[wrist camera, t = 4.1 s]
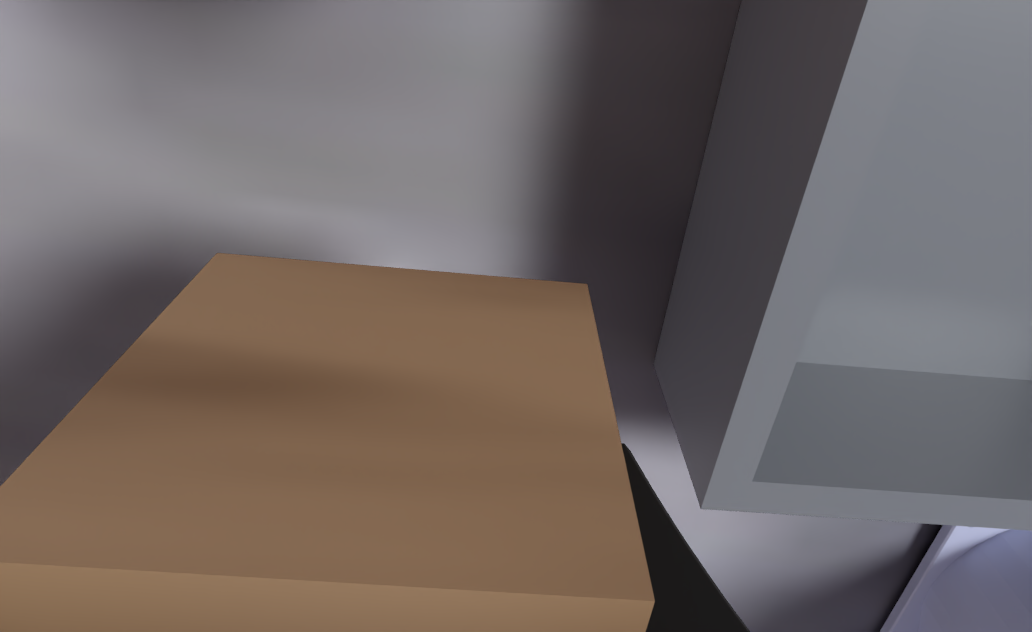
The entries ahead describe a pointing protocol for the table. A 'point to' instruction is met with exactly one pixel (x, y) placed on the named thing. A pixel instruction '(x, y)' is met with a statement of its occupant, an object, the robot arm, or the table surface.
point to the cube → (336, 465)
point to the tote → (862, 267)
